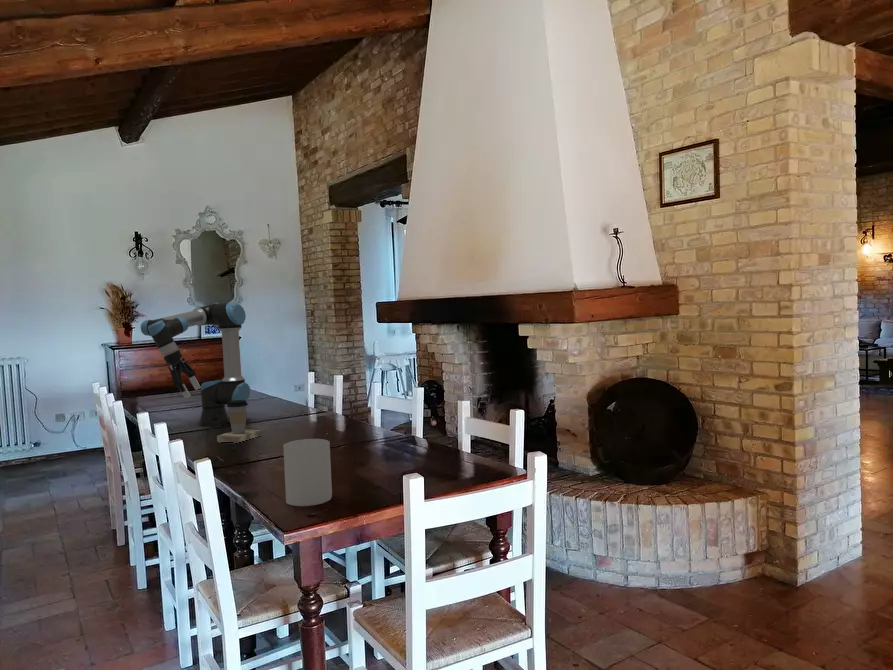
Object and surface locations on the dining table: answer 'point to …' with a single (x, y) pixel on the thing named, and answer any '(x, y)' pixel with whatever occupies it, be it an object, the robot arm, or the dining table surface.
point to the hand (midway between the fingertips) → (193, 393)
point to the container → (307, 472)
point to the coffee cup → (237, 415)
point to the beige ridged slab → (238, 436)
